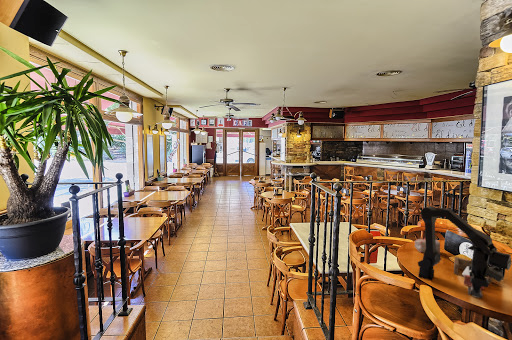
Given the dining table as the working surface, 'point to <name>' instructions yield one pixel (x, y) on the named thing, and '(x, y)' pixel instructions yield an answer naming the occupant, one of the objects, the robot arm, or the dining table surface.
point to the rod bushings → (470, 292)
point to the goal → (464, 266)
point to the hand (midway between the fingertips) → (476, 291)
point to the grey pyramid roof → (466, 271)
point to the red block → (468, 282)
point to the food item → (421, 245)
